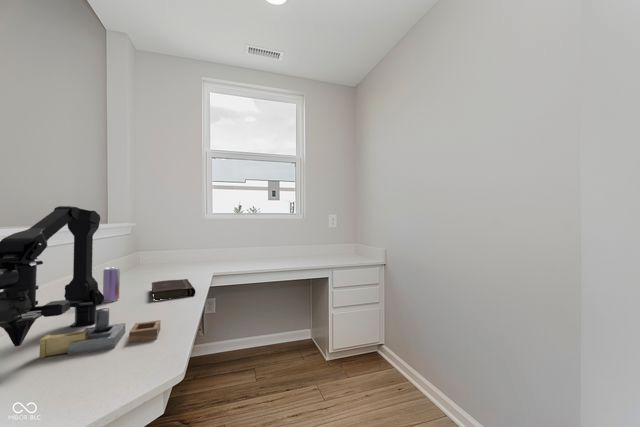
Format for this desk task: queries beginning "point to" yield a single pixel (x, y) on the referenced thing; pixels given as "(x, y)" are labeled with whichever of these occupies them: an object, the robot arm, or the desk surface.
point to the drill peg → (102, 320)
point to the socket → (98, 340)
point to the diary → (172, 289)
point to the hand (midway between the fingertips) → (18, 345)
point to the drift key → (59, 343)
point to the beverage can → (111, 284)
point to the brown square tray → (144, 331)
